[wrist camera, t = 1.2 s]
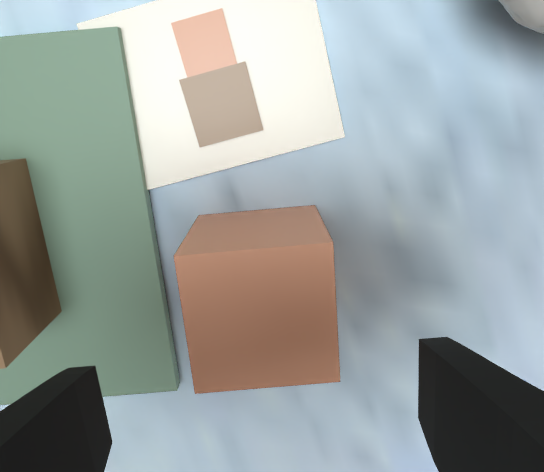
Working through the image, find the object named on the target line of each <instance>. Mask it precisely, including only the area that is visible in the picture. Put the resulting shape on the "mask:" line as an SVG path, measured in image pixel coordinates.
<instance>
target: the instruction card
mask: <svg viewBox="0 0 544 472" xmlns="http://www.w3.org/2000/svg"><path fill="white" fill-rule="evenodd" d="M116 26H117V27H119V28H121V33H122V39H123V45H124V51H125V58H126V64H127V70H128V76H129V82H130V88H131V94H132V100H133V106H134V113H135V119H136V125H137V131H138V137H139V143H140V149H141V155H142V161H143V168H144V174H145V180H146V186H147V190H150V189H153V188H157V187H161V186H164V185H168V184H172V183H176V182H179V181H183V180H187V179H191V178H194V177H198V176H202V175H205V174H209V173H213V172H217V171H220V170H224V169H228V168H232V167H235V166H239V165H243V164H246V163H250V162H254V161H258V160H261V159H265V158H269V157H273V156H276V155H280V154H284V153H287V152H291V151H295V150H299V149H302V148H306V147H310V146H314V145H317V144H321V143H325V142H328V141H332V140H336V139H340V138H343V137H345V135H344V130H343V126H342V121H341V116H340V112H339V107H338V102H337V98H336V93H335V88H334V84H333V79H332V74H331V70H330V65H329V60H328V56H327V51H326V46H325V42H324V37H323V32H322V27H321V23H320V18H319V13H318V9H317V4H316V0H156V1H153V2H149V3H146V4H142V5H139V6H136V7H132V8H129V9H125V10H122V11H119V12H115V13H112V14H108V15H105V16H102V17H98V18H95V19H91V20H88V21H85V22H81V23H78V24H77V27H78V30H83V29H94V28H105V27H116Z"/></svg>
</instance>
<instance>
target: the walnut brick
mask: <svg viewBox="0 0 544 472" xmlns="http://www.w3.org/2000/svg"><path fill="white" fill-rule="evenodd" d="M61 312H62V310H61V306H60V302H59V297H58V293H57V289H56V285H55V280H54V276H53V272H52V268H51V263H50V259H49V255H48V251H47V246H46V242H45V238H44V234H43V229H42V225H41V221H40V217H39V212H38V208H37V204H36V200H35V195H34V191H33V187H32V183H31V178H30V174H29V170H28V166H27V161H26V158H23V159H12V160H0V369H4V368H7V367H8V366H9V365H10V364H11V363H12V362H13V361H14V360H15V358H16V357H17V356H18V355H19V354H20V353H21V352H22V351H23V350H24V349H25V348H26V347H27V346H28V345H29V344H30V343H31V342H32V341H33V340H34V339H35V338H36V337H37V336H38V335H39V334H40V333H41V332H42V331H43V330H44V329H45V328H46V327H47V326H48V325H49V324H50V323H51V322H52V321H53V320H54V319H55V318H56V317H57V316H58V315H59V314H60V313H61Z"/></svg>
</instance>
